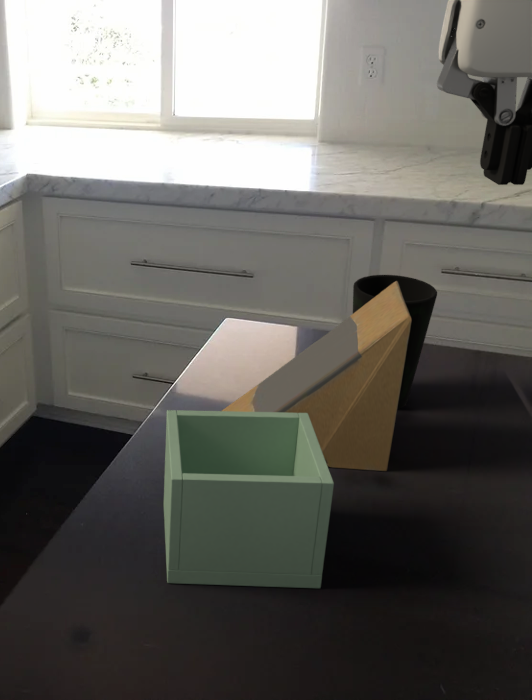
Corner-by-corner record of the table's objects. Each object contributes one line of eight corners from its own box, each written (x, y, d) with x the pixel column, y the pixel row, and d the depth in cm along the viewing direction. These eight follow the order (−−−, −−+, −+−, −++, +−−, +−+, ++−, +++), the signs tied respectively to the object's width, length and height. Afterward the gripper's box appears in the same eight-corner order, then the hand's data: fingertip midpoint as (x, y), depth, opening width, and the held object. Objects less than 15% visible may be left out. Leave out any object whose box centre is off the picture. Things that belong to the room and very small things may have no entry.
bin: (308, 412, 68) (166, 409, 69) (334, 483, 59) (171, 478, 60) (297, 508, 71) (163, 504, 72) (320, 588, 62) (167, 583, 63)
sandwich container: (215, 412, 87) (224, 270, 80) (376, 425, 84) (398, 279, 78) (211, 456, 79) (220, 303, 73) (387, 472, 76) (412, 314, 70)
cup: (425, 417, 85) (445, 303, 80) (345, 412, 86) (360, 300, 81) (409, 382, 92) (427, 275, 87) (335, 378, 93) (348, 273, 88)
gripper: (653, -116, 56) (587, 168, 63) (416, -110, 57) (379, 168, 64) (726, -126, 49) (643, 193, 57) (456, -119, 50) (409, 194, 58)
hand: (503, 179), depth 60 cm, fingers closed
